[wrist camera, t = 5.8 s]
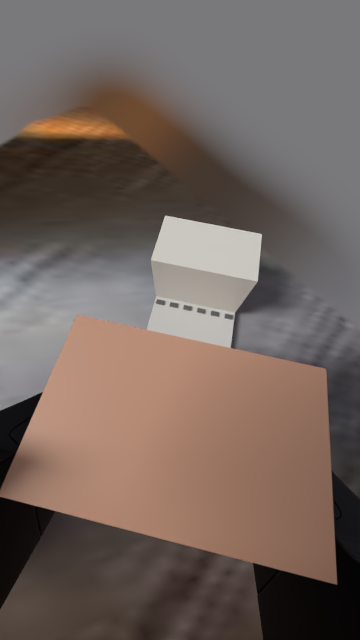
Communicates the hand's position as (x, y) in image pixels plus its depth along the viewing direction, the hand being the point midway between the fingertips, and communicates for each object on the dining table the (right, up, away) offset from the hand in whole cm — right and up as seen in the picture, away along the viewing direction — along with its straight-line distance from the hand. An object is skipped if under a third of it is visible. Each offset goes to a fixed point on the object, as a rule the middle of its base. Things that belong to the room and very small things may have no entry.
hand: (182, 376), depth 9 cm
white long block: (0, -1, +7) cm, 7 cm away
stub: (-1, -4, +5) cm, 7 cm away
